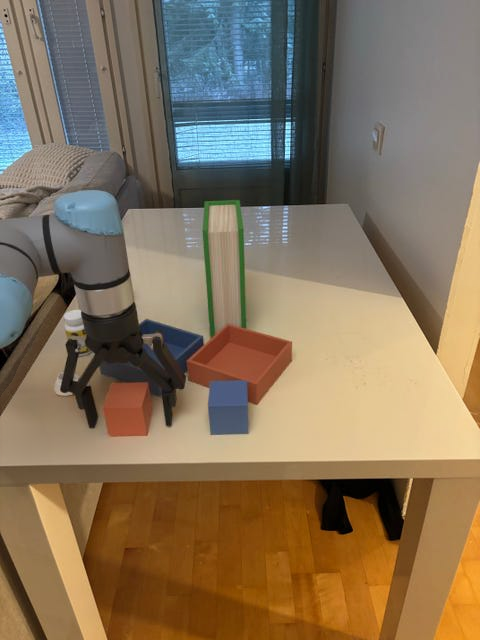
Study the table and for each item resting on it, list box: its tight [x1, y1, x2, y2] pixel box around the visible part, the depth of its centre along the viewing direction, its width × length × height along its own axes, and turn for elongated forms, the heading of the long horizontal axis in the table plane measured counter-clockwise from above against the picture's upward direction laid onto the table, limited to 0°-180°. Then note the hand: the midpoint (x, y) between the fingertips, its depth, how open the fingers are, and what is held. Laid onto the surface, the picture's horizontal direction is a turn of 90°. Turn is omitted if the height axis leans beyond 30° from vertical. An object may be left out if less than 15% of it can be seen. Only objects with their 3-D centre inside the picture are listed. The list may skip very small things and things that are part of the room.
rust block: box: [102, 382, 154, 438], centre depth 75 cm, size 6×6×6 cm
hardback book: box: [201, 199, 247, 340], centre depth 97 cm, size 18×7×24 cm, turn 3°
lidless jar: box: [53, 370, 81, 397], centre depth 84 cm, size 5×3×5 cm
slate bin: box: [98, 318, 205, 397], centre depth 89 cm, size 14×14×4 cm
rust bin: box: [187, 324, 293, 406], centre depth 86 cm, size 14×14×4 cm
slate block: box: [207, 380, 249, 436], centre depth 74 cm, size 6×6×6 cm
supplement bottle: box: [63, 309, 93, 357], centre depth 93 cm, size 5×5×8 cm
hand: (131, 421), depth 76 cm, fingers open, 12 cm apart
